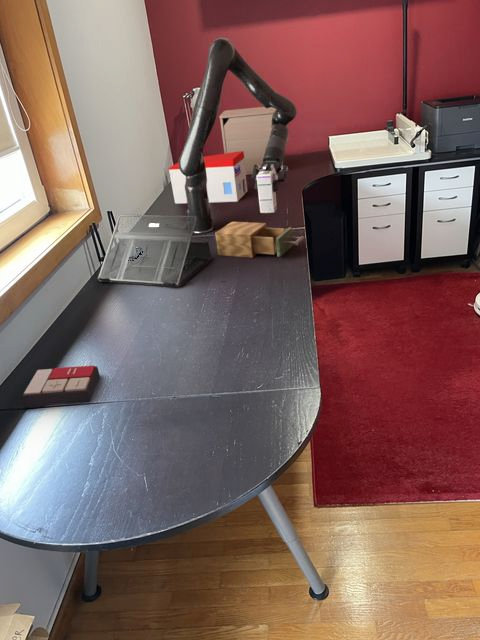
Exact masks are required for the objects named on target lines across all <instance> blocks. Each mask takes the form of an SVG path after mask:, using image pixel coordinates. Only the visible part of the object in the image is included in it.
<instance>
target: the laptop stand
mask: <svg viewBox="0 0 480 640" xmlns="http://www.w3.org/2000/svg"><path fill="white" fill-rule="evenodd" d="M188 217H189V218H192V219H193V218H194V219H195V221H194V223H193V224H194V225H192V226H193V228H192V230H191V231H192V232H190V228H189V221H192V220H191V219H190V220H189V221H188V219H189V218H188ZM121 218H122V219H121ZM187 221H188V224H187V225H186V224H185V223H187ZM196 221H197V217H196V216H187V215H177V214H176V215H171V214H170V215H169V214H168V215H167V214H165V215H164V214H120V215H118V217H117V219H116V222H115V227H114V229H113V231H112V234H111V237H110V241H109V244H108V247H107V250H106V253H105V256H104V259H103V262H102V264H101V268H100V271H99V273H98V277H96V278H97V280H98V282H103V283H116V284H129V285H130V284H132V285H146V286H157V287H158V286H160V287H171V288H180V287H182V285H184V283H186V282H187V281H188V280H190V278H192V277H193V276H194V275H195V274H196V273H197V272H199V271H200V270H202V268H204V266H206V265H207V264H209V262H210V261H211V260H212V253H211V249H210V244H209V240H208V241H207V240H193V236H194V233H193V232H194V228H195V225H196ZM190 223H191V222H190ZM166 224H168V226H167V225H166ZM184 224H185V225H186V227H185V228H184ZM191 224H192V223H191ZM165 225H166V226H165ZM169 225H172V226H173V228H171V227H172V226H171V227H170V226H169ZM174 226H177V227H178V229H177V227H176V228H175V227H174ZM190 226H191V225H190ZM179 227H183V229H182V228H181V229H180V228H179ZM136 247H138V248H139V247H140V248H142V249H143V250H142V251H143V253H142V251H141V254H142V255H139V254H138V255H139V257H138V258H137V256H138V255H137V253H140V252H139V250H140V249H137V250H138V252H137V253H136ZM135 254H136V258H137V259H133V260H134V261H132V258H131V261H130V259H129V257H132V256H133V257H134V256H135ZM134 258H135V257H134ZM128 260H129V261H128Z"/></svg>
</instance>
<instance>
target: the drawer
mask: <svg viewBox="0 0 480 640" xmlns="http://www.w3.org/2000/svg"><path fill="white" fill-rule="evenodd" d="M251 238H252V247H253V253H258V254H260V255H273V256H275V255H276V258H277V257H278V258H280V257H282V256H283V255H284V254H285V253H286V252H288V250H289V249H290V248H292V247H293V246H294V245H295V246H299V245H300V244H301V243H302V242H303V241H304V240H305V236H304V235H301V236H293V227H292V226H291V227H287V228H281V227H266V228H265V227H263V228H262V229H261V230H259V231H258V232H257V233H255V234H254V235H253V236H251ZM294 240H295V241H294Z"/></svg>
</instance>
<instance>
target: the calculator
mask: <svg viewBox="0 0 480 640" xmlns="http://www.w3.org/2000/svg"><path fill="white" fill-rule="evenodd" d="M98 367H99V366H97V365H96V366H95V365H81V366H78V365H77V366H67V367H65V366H64V367H63V366H62V367H54V368H45V369H43V368H42V369H37V370H36V371H35V373H34V375H33V376H32V378H31V380H30V381H29V383H28V385H27V386H26V388H25V389H24V392H23V393H22V395H21V397H22V400H23V402H24V405H25V407H26V408H27V409H29V408H30V409H31V408H42V407H44V406H45V405H58V404H72V403H85V402H86V403H87V402H88V403H89V402H90V401H91V400H92V397H93V394H94V392H95V390H96V387H97V384H98V382H99V379H100V372H99V368H98Z"/></svg>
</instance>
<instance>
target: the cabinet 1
mask: <svg viewBox="0 0 480 640" xmlns="http://www.w3.org/2000/svg"><path fill="white" fill-rule="evenodd" d="M275 110H276V109H275V108H273V107H270V108H265V107H264V106H258V107H257V106H256V107H248V108H237V109H227V110H223V112H222V113H220V115H219V116H218V118H219V121H220V122H219V123H220V129H221V137H222V145H223V146H222V147H223V152H224V153H223V154H226V153H233V152H240V151H244V163H245V173H246V176H248V175H252V173H253V168H254V165H255V164H256V165H257V166H260V165H261V164H262V163H263V157H264V154H265V150H266V146H267V143H268V140H269V137H270V133H271V130H272V128H271V125H272V116H273V113H274V111H275ZM281 166H284V161H283V162H282V165H281ZM261 170H262V169H260V171H261ZM260 171H259V172H260ZM259 172H258V174H259ZM281 172H282V170H280V171H279V172H278V173H281Z"/></svg>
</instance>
